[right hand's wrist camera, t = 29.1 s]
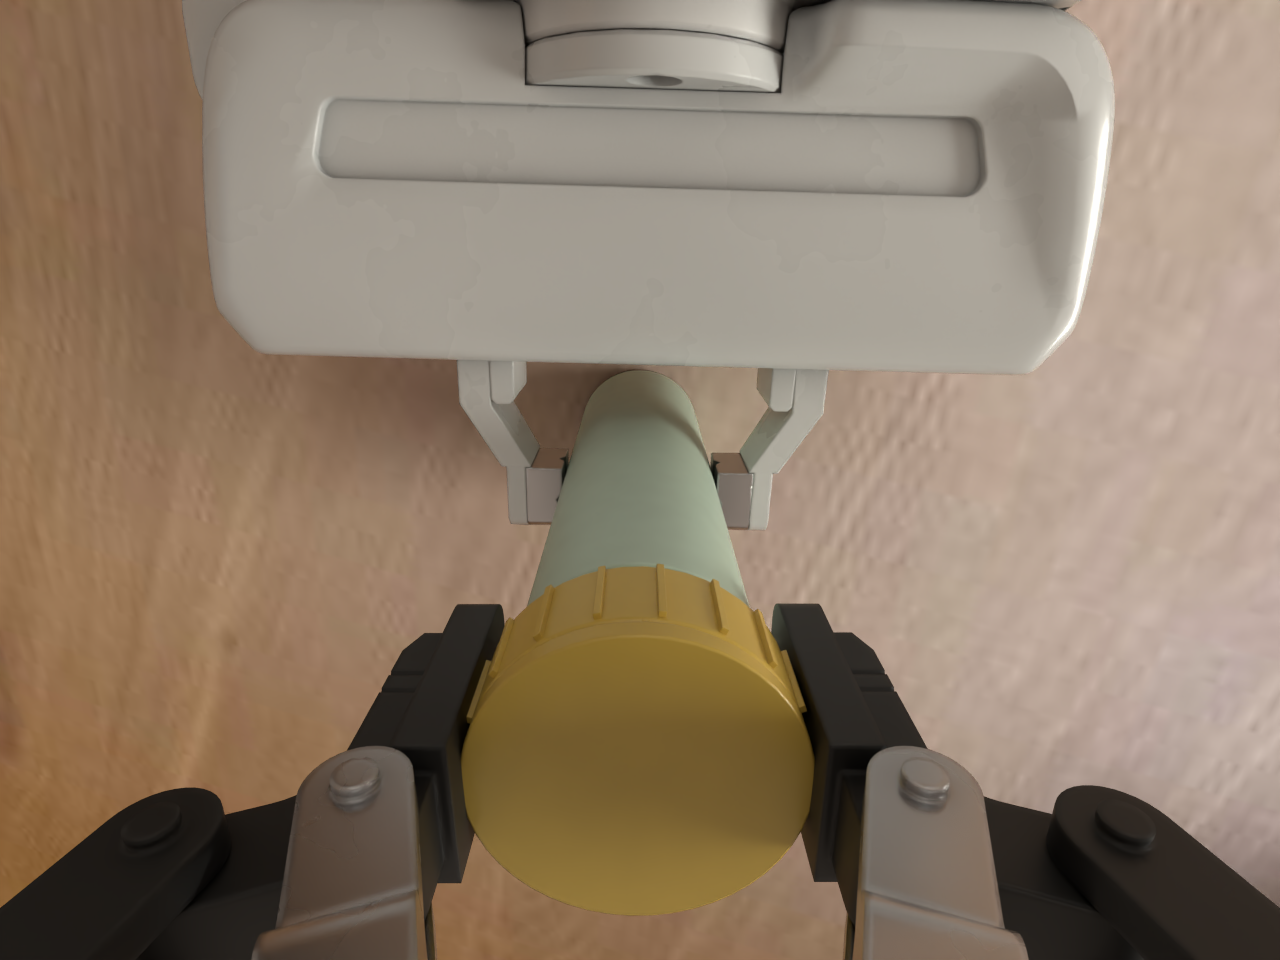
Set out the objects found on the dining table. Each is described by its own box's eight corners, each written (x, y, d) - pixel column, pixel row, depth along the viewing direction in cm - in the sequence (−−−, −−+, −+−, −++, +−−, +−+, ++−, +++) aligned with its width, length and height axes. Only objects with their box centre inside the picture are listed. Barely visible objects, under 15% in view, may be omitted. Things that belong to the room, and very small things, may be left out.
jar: (608, 494, 26) (564, 882, 11) (564, 394, 25) (442, 676, 10) (711, 456, 26) (817, 806, 10) (672, 352, 25) (726, 577, 9)
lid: (531, 837, 12) (512, 943, 10) (444, 593, 10) (402, 669, 9) (810, 790, 12) (840, 892, 10) (765, 530, 10) (793, 596, 8)
